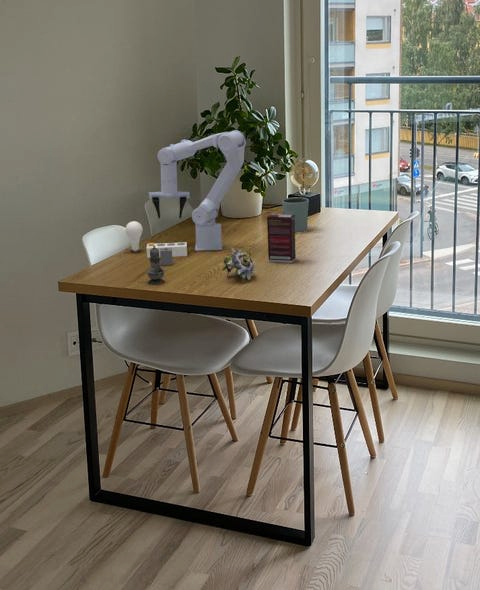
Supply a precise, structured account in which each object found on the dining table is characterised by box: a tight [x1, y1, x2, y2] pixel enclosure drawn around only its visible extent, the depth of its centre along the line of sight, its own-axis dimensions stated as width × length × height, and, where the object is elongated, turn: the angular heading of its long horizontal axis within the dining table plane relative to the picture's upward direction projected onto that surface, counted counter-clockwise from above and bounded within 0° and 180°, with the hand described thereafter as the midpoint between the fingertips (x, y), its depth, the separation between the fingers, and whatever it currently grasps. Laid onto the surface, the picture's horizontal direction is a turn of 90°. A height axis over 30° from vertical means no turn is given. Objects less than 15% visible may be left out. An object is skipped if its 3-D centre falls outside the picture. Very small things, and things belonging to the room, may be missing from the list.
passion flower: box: [222, 247, 256, 281], centre depth 284 cm, size 11×11×12 cm
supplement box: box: [266, 213, 297, 264], centre depth 301 cm, size 9×5×16 cm, turn 71°
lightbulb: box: [125, 220, 144, 252], centre depth 320 cm, size 6×6×11 cm
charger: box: [159, 248, 174, 266], centre depth 304 cm, size 4×6×5 cm
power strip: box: [146, 241, 188, 259], centre depth 315 cm, size 14×6×4 cm, turn 94°
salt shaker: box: [146, 246, 166, 285], centre depth 282 cm, size 6×6×12 cm
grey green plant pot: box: [281, 196, 310, 234], centre depth 343 cm, size 10×10×12 cm
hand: (169, 217), depth 325 cm, fingers open, 7 cm apart
